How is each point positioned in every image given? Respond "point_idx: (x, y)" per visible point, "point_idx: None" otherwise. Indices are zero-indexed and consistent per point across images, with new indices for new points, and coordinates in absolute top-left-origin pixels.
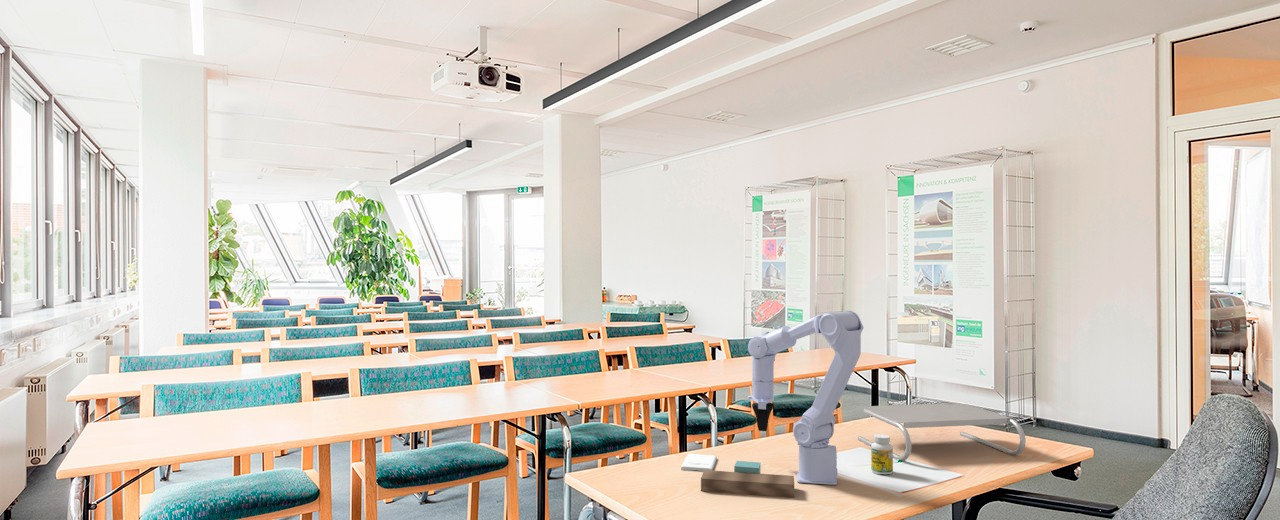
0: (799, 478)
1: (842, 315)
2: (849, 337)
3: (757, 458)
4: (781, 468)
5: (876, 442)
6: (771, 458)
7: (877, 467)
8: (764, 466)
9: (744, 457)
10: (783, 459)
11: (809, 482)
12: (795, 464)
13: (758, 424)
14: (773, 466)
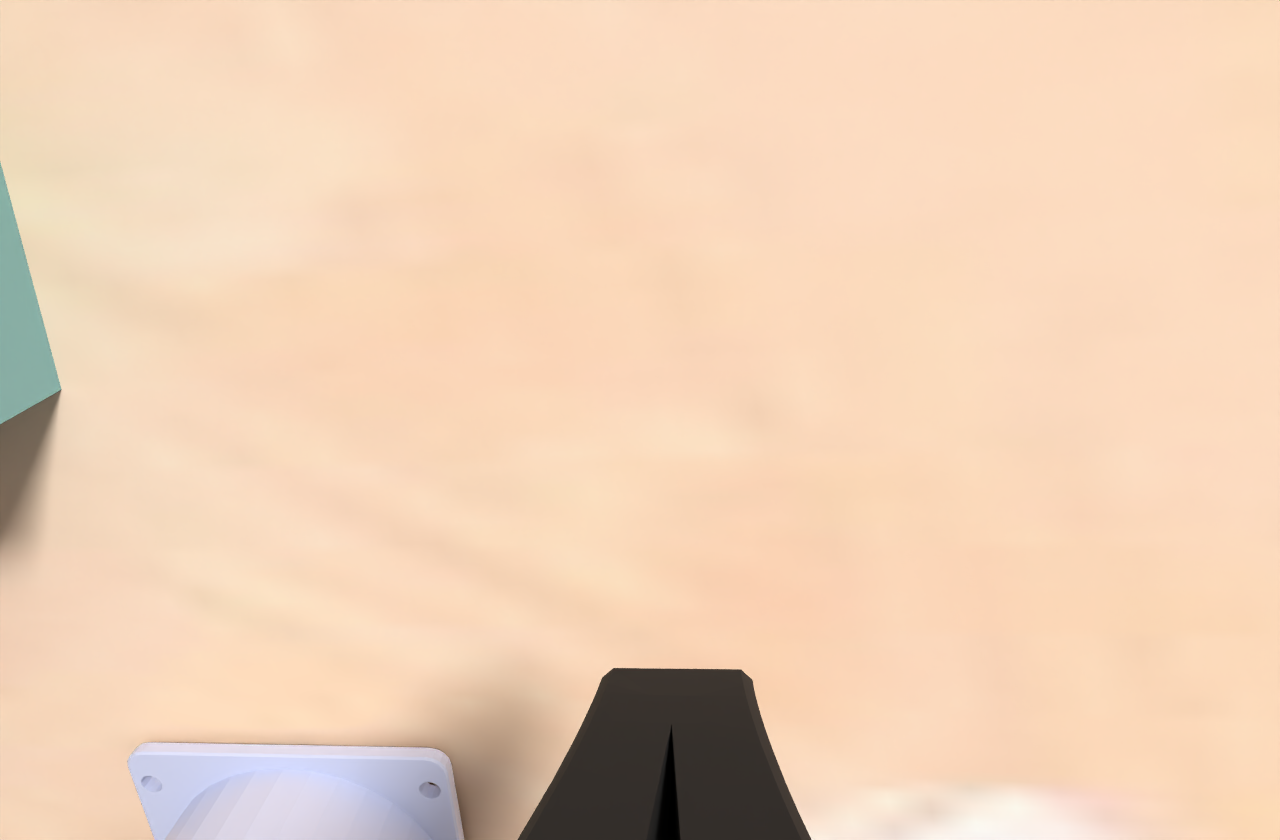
0: (210, 770)
1: None
2: None
3: (1042, 306)
4: (611, 605)
5: None
6: (1059, 493)
7: None
8: (642, 416)
9: (1087, 94)
10: (1022, 629)
11: (159, 832)
12: (816, 740)
13: (546, 815)
14: (672, 521)
